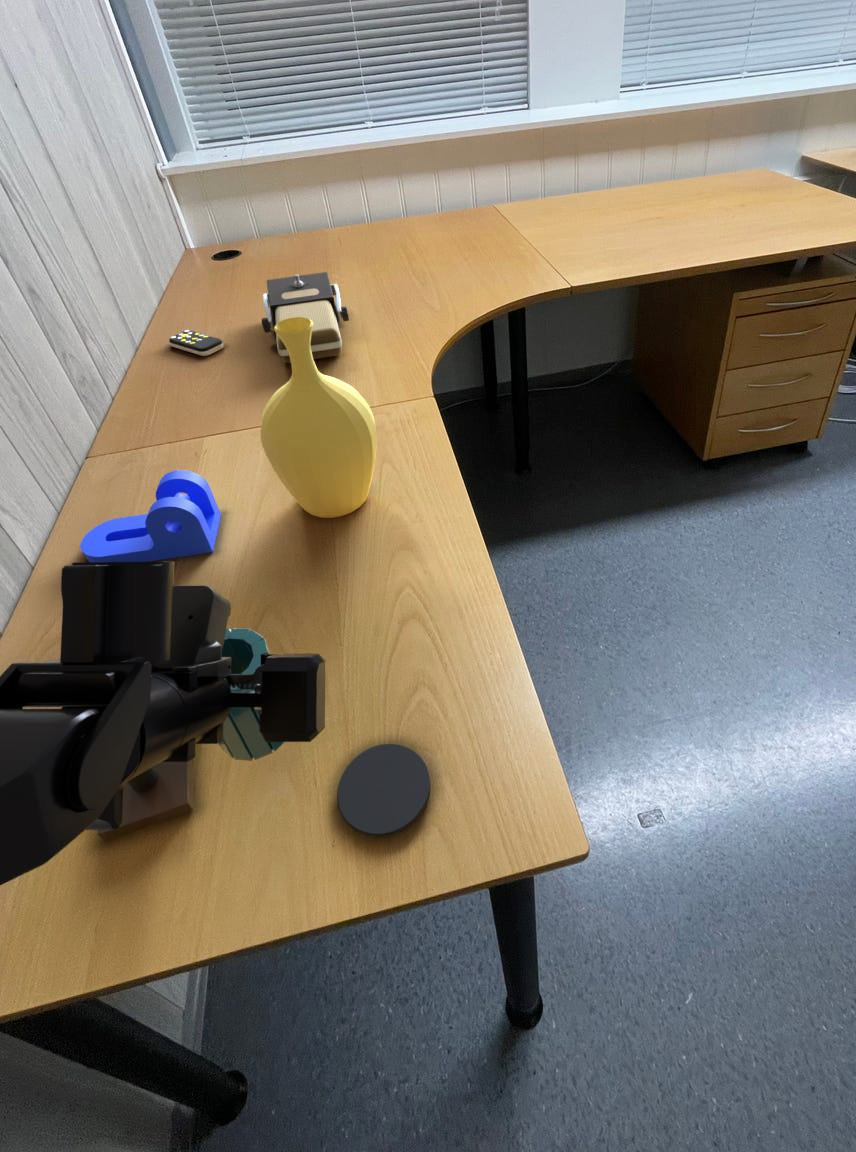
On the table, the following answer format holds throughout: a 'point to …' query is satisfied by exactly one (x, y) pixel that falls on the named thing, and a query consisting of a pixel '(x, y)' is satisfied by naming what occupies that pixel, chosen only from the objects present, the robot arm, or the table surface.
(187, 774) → the stand
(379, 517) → the table surface
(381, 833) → the pad
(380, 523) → the table surface
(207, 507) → the bracket
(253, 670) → the slatted teal pen holder
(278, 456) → the vase
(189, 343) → the remote control
